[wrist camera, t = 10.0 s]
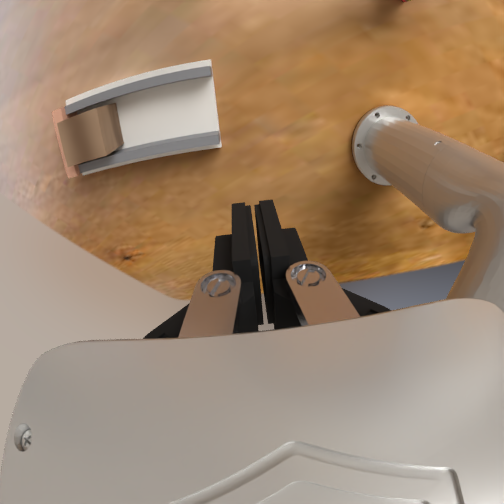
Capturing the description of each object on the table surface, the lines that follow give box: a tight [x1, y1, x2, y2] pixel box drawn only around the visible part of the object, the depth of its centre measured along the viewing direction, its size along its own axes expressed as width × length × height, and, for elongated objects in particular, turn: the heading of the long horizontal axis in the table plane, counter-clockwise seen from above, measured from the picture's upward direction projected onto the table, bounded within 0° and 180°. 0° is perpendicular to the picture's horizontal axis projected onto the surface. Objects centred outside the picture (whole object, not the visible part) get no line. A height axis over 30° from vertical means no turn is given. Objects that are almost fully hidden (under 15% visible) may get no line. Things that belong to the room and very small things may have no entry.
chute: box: [52, 60, 222, 178], centre depth 29 cm, size 21×12×5 cm, turn 95°
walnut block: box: [57, 103, 124, 167], centre depth 28 cm, size 6×6×6 cm
